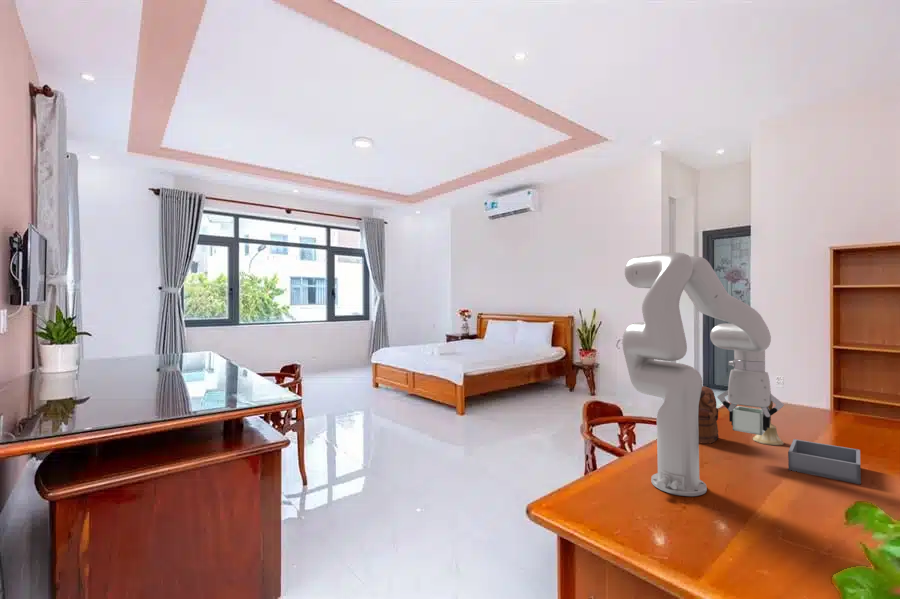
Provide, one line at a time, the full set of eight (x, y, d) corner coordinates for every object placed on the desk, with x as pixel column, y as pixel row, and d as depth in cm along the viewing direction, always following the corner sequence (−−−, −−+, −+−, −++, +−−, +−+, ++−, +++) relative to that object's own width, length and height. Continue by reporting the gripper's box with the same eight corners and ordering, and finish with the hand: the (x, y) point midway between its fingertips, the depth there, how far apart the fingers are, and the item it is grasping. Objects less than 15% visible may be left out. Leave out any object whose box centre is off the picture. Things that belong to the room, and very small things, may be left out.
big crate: (860, 484, 110) (860, 465, 110) (788, 469, 120) (788, 452, 120) (860, 467, 121) (860, 449, 121) (793, 455, 131) (793, 439, 131)
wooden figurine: (707, 445, 141) (706, 390, 141) (687, 441, 146) (686, 387, 146) (722, 438, 148) (721, 385, 148) (702, 433, 153) (701, 383, 153)
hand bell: (773, 437, 148) (772, 390, 148) (789, 445, 140) (788, 396, 140) (747, 437, 149) (746, 390, 149) (762, 445, 140) (761, 396, 140)
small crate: (761, 435, 122) (761, 413, 122) (732, 430, 127) (732, 409, 127) (765, 430, 127) (765, 409, 127) (737, 425, 132) (737, 405, 132)
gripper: (712, 364, 130) (712, 423, 130) (785, 370, 119) (785, 436, 118) (718, 362, 136) (718, 419, 136) (788, 368, 124) (788, 430, 124)
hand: (749, 426), depth 127 cm, fingers closed on small crate, 7 cm apart
